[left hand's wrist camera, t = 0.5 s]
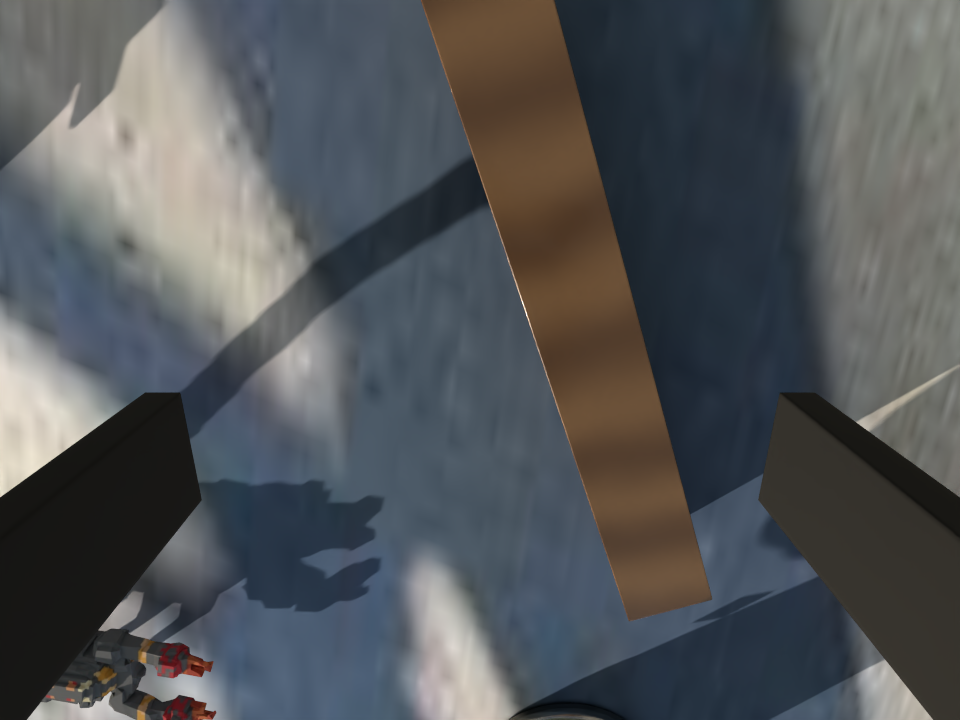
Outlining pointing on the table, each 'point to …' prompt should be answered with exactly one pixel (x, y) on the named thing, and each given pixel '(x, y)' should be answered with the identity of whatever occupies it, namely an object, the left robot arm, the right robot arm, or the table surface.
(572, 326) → the beam
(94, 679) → the toy
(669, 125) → the table surface
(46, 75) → the table surface
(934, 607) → the left robot arm
